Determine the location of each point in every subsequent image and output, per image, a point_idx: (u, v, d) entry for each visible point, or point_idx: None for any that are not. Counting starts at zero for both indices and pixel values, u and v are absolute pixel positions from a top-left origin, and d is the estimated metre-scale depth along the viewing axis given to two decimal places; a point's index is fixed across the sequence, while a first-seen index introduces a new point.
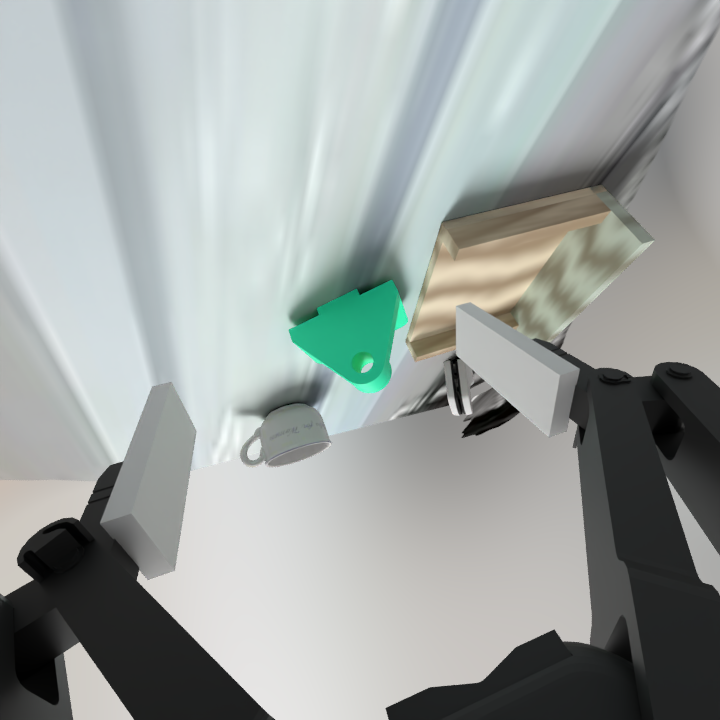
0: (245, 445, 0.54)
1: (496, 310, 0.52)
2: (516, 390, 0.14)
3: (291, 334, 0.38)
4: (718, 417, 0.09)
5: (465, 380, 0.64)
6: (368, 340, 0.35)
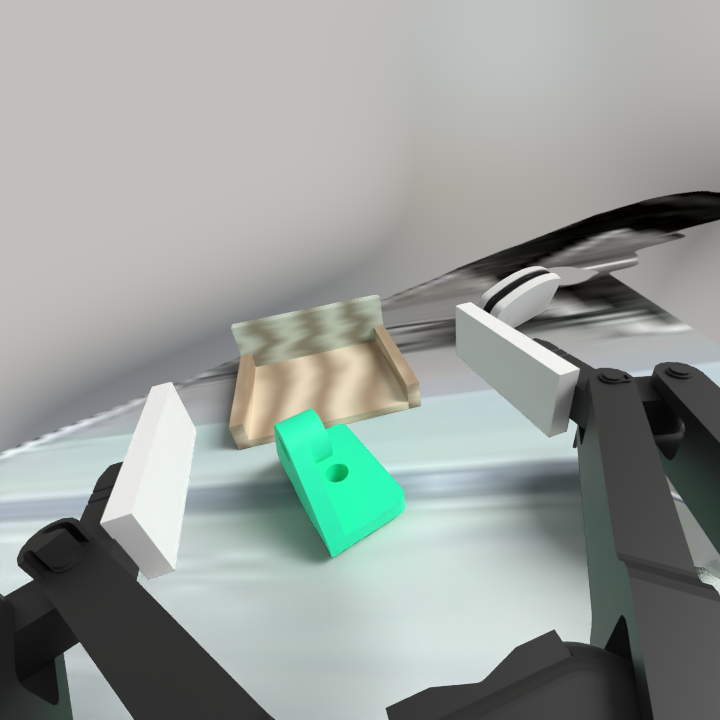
0: None
1: (369, 352, 0.54)
2: (516, 390, 0.14)
3: (329, 551, 0.28)
4: (718, 417, 0.09)
5: None
6: (284, 455, 0.31)
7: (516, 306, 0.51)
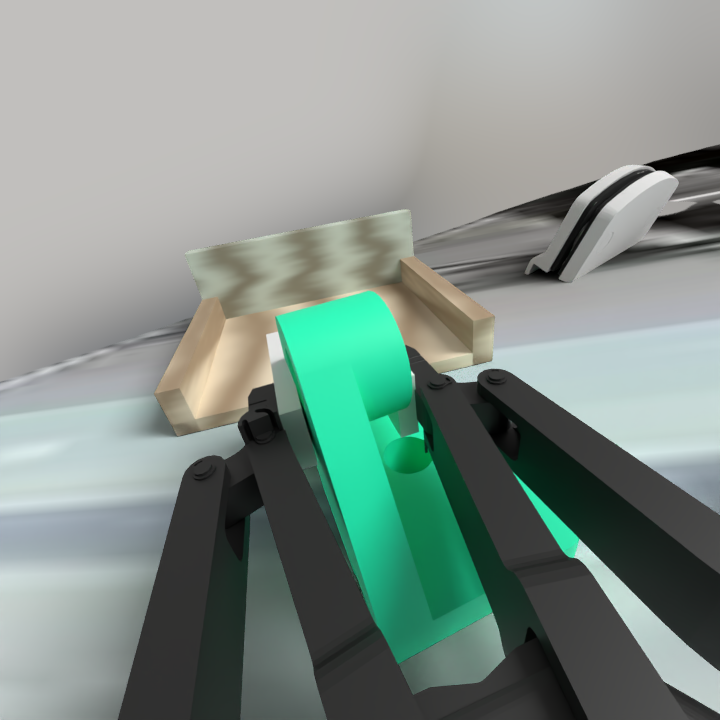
0: None
1: (394, 294, 0.36)
2: None
3: None
4: (540, 414, 0.10)
5: (560, 230, 0.34)
6: None
7: (627, 216, 0.33)
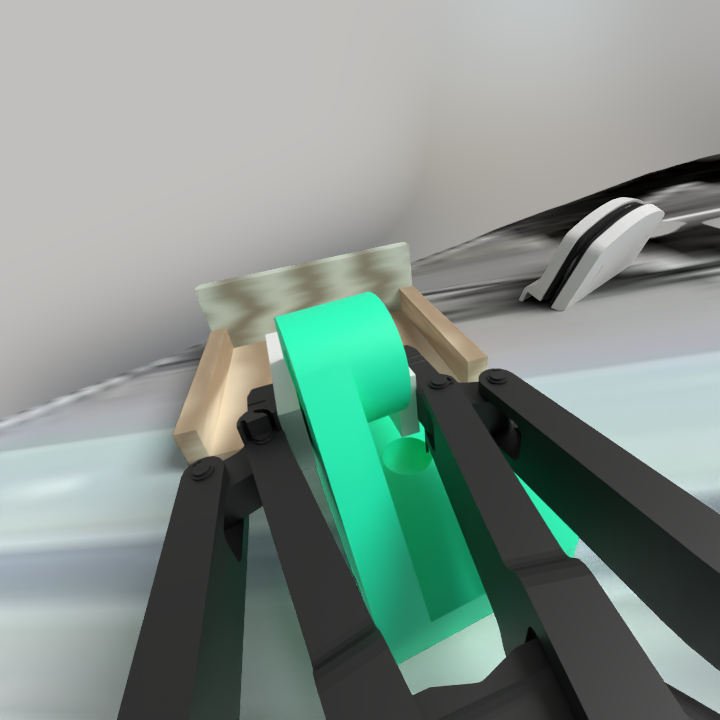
0: None
1: None
2: None
3: None
4: (540, 414, 0.10)
5: (551, 262, 0.36)
6: None
7: (615, 249, 0.35)
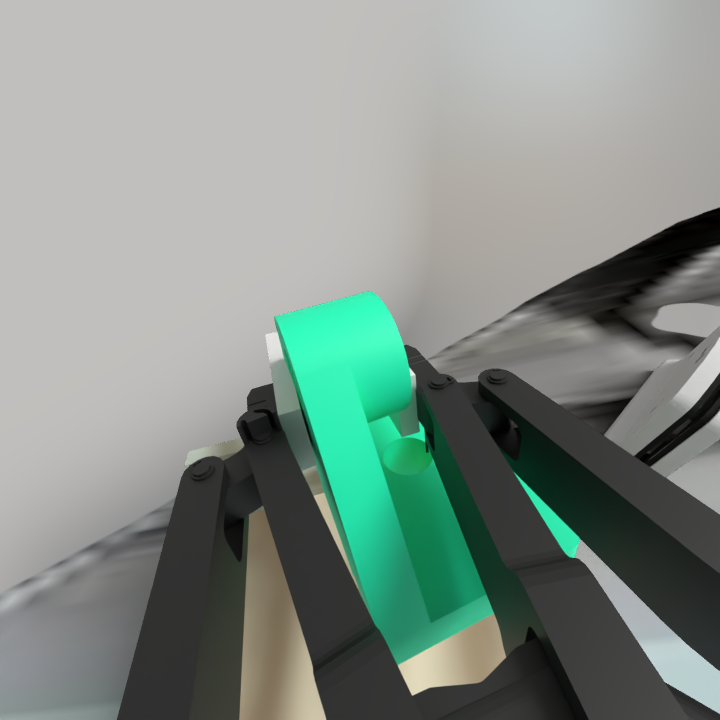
0: None
1: None
2: None
3: None
4: (540, 414, 0.10)
5: (648, 423, 0.28)
6: None
7: None
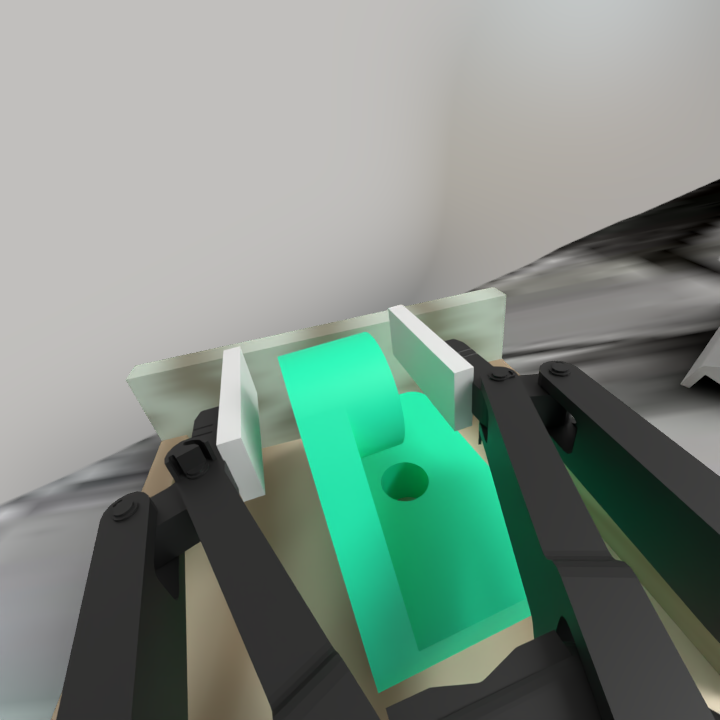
0: None
1: (477, 430, 0.22)
2: (431, 388, 0.15)
3: (374, 679, 0.11)
4: (601, 409, 0.10)
5: None
6: None
7: None
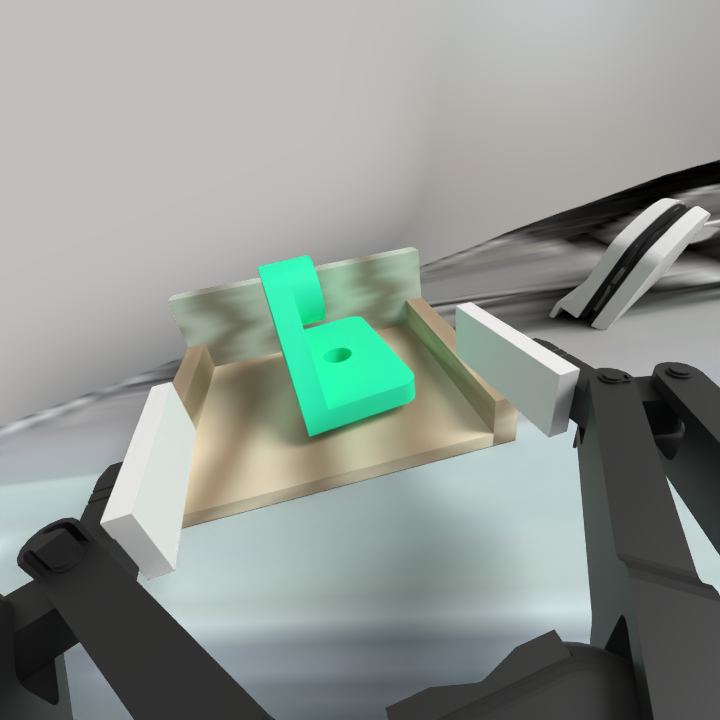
0: None
1: (400, 342, 0.33)
2: (516, 391, 0.14)
3: None
4: (718, 417, 0.09)
5: (593, 273, 0.31)
6: None
7: (667, 258, 0.30)
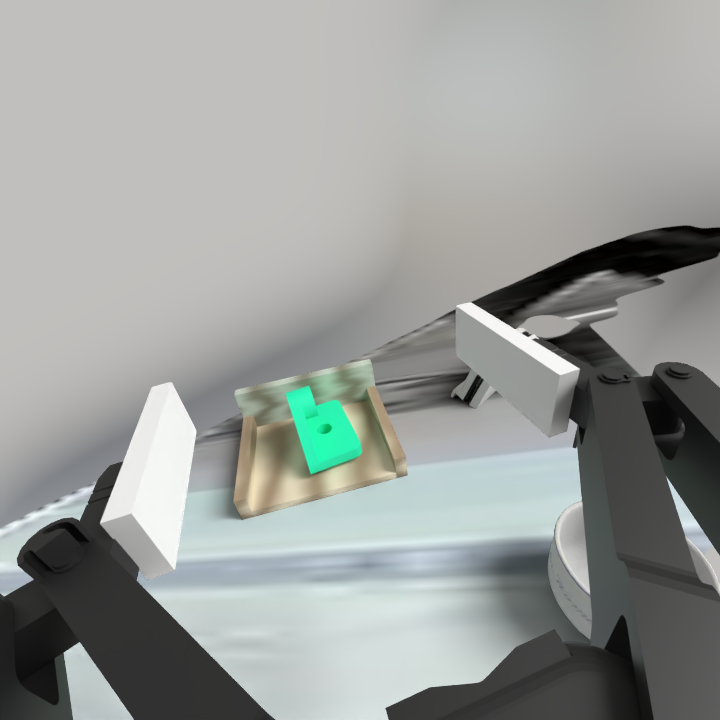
0: None
1: (362, 413, 0.58)
2: (516, 391, 0.14)
3: None
4: (718, 417, 0.09)
5: (467, 378, 0.56)
6: None
7: None
